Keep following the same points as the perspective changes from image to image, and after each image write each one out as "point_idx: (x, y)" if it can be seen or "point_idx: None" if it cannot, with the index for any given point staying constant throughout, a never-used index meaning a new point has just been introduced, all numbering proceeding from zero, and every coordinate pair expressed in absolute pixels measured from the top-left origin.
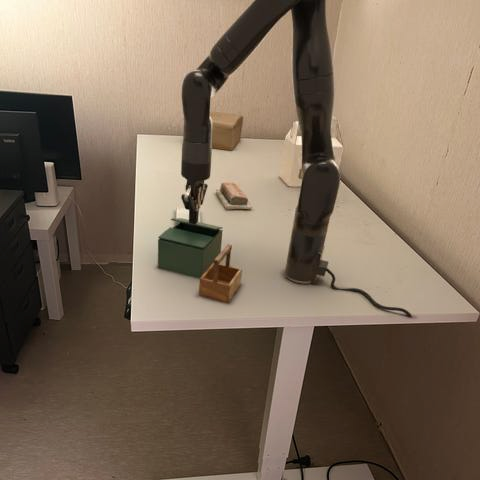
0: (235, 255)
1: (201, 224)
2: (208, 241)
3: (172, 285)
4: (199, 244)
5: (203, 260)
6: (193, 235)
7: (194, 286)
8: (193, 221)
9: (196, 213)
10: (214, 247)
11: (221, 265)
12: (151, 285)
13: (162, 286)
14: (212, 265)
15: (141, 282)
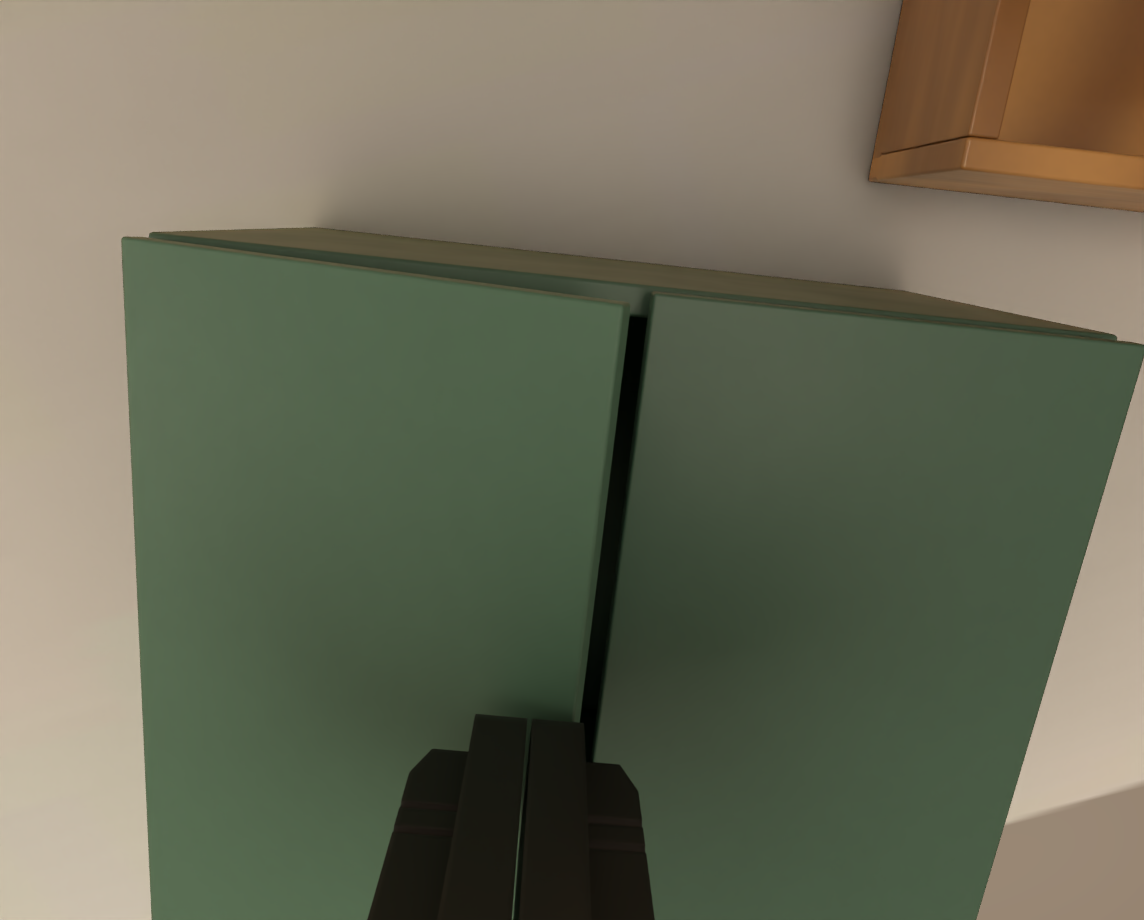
0: (184, 49)
1: (425, 621)
2: (877, 329)
3: (1101, 519)
4: (1048, 442)
5: (992, 311)
6: (722, 624)
7: (1077, 319)
8: (628, 793)
9: (586, 890)
10: (559, 265)
11: (1018, 32)
12: (1137, 679)
13: (1137, 592)
14: (1067, 158)
15: (1102, 765)
